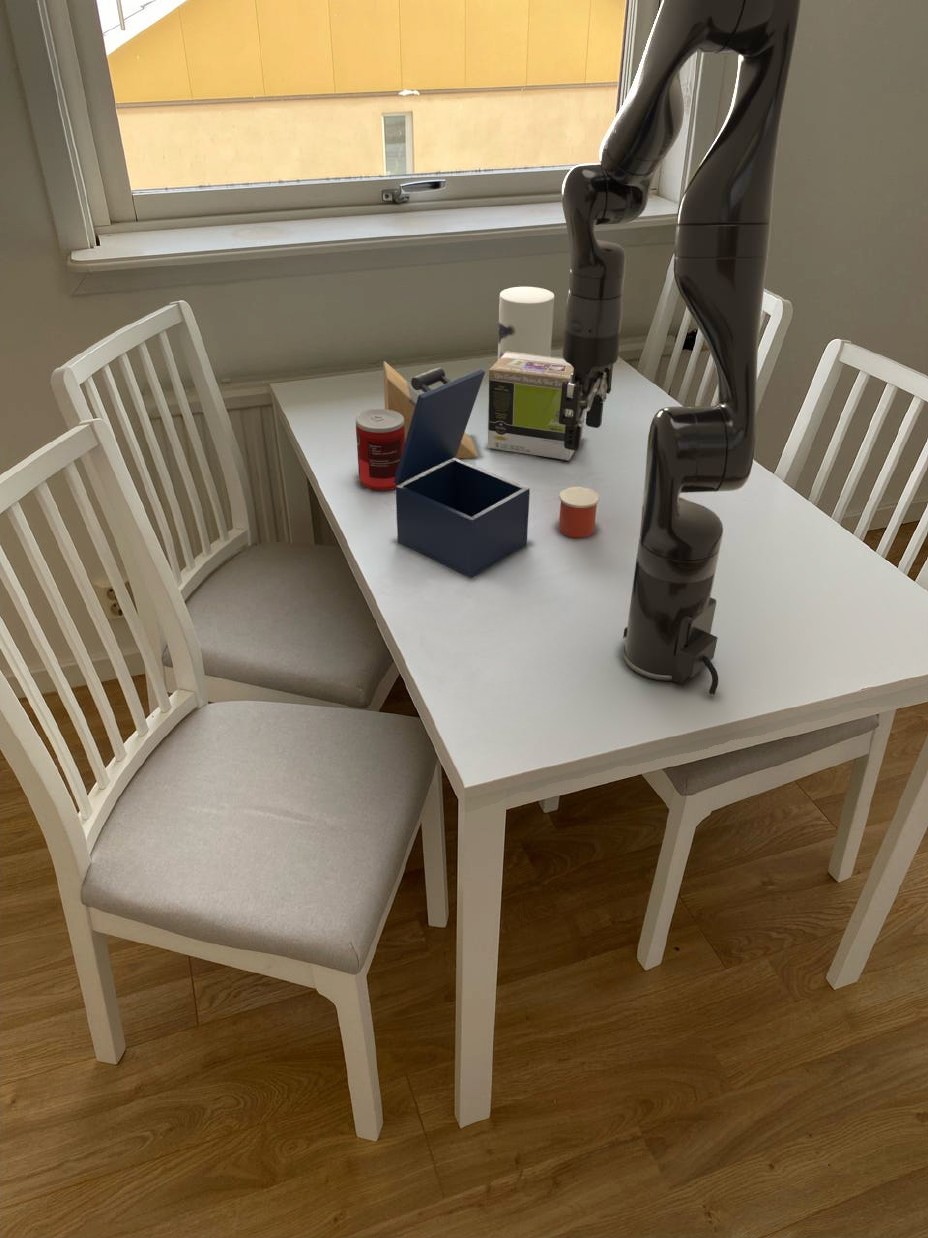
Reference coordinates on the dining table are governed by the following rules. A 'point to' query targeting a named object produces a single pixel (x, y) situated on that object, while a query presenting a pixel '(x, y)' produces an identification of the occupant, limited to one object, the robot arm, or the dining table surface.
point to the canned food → (379, 447)
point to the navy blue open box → (462, 516)
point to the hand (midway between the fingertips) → (582, 437)
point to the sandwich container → (413, 406)
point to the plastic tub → (578, 511)
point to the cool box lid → (437, 421)
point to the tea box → (528, 405)
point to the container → (525, 321)
